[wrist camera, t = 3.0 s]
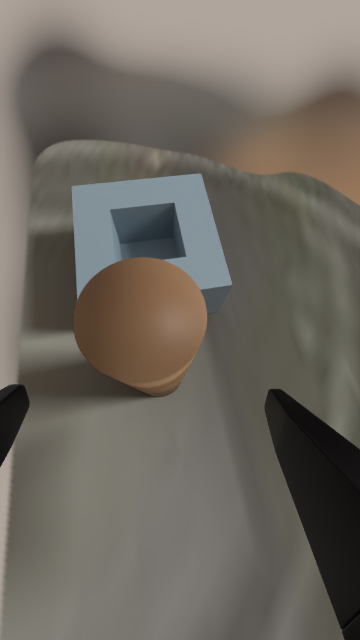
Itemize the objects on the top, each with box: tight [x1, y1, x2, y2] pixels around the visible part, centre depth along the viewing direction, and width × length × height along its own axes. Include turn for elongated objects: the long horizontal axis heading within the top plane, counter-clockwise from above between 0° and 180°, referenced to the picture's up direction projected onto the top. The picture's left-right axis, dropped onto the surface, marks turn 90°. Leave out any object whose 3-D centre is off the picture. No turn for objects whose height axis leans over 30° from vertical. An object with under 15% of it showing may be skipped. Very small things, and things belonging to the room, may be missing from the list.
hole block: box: [72, 174, 232, 314], centre depth 19 cm, size 10×10×5 cm
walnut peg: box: [73, 257, 207, 397], centre depth 13 cm, size 4×4×13 cm
